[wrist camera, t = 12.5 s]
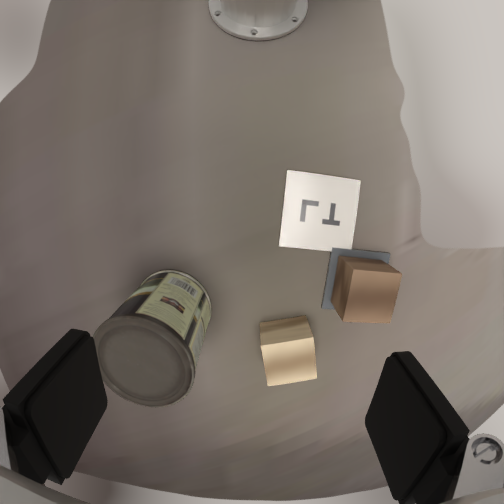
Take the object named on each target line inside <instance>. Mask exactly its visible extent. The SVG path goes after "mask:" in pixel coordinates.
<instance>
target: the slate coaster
mask: <svg viewBox="0 0 504 504" xmlns="http://www.w3.org/2000/svg"><path fill="white" fill-rule="evenodd" d="M339 256H348V257H358V258H367V259H377V260H383V261H384V262H386V263H387V264H388V263H389V258H390V253H385V252H376V251H367V250H358V249H343V248H333V247H332V251H331V253H330V259H329V265H328V272H327V278H326V283H325V289H324V295H323V300H322V306H321V308H322V309H335V308H334V306H333V305H332V303H331V296H332V290H333V285H334V280H335V274H336V268H337V263H338V257H339Z"/></svg>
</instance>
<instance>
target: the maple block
mask: <svg viewBox="0 0 504 504" xmlns="http://www.w3.org/2000/svg"><path fill="white" fill-rule="evenodd" d="M260 338H261V349H262V355H263V360H264V366H265V372H266V377H267V383H268V386H273V385H280V384H286V383H293V382H299V381H305V380H310V379H316V378H317V373H316V360H315V348H314V337H313V334H312V331H311V329H310V326H309V323H308V321H307V318H306V315H305V316H299V317H293V318H287V319H281V320H275V321H268V322H262V323H260Z"/></svg>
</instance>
